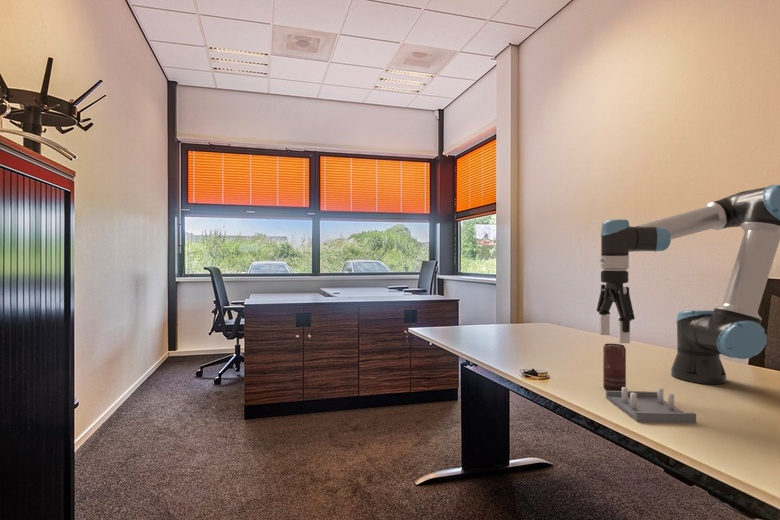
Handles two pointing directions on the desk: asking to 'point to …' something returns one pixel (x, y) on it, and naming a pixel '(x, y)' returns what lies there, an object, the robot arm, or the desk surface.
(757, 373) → the desk surface
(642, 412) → the tray
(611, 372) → the can
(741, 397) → the desk surface
